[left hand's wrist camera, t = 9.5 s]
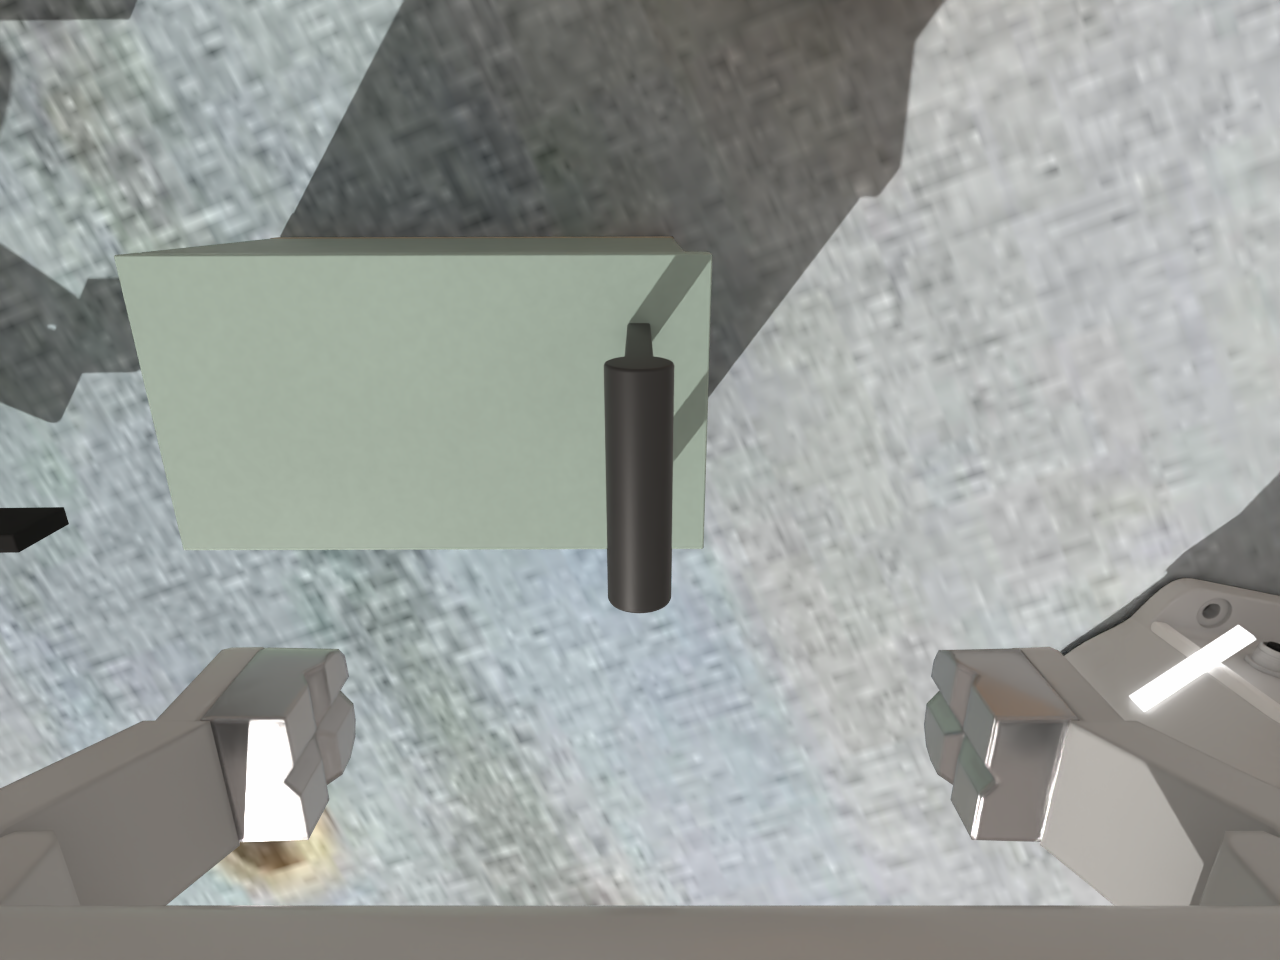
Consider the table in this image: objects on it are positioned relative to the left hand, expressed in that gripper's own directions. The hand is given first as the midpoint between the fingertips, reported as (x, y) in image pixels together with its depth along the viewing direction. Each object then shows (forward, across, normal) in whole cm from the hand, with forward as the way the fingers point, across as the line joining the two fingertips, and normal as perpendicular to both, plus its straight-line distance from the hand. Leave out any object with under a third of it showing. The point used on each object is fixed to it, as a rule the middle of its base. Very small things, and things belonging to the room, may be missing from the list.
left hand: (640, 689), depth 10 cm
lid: (+15, +7, 0) cm, 17 cm away
